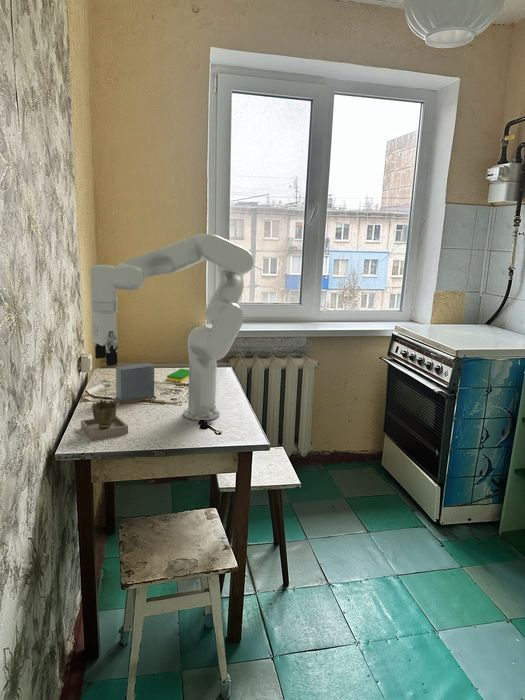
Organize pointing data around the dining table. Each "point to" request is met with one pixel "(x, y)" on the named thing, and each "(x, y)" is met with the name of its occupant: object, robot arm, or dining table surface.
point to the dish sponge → (179, 375)
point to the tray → (96, 433)
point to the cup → (104, 413)
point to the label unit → (134, 383)
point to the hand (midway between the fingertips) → (106, 361)
